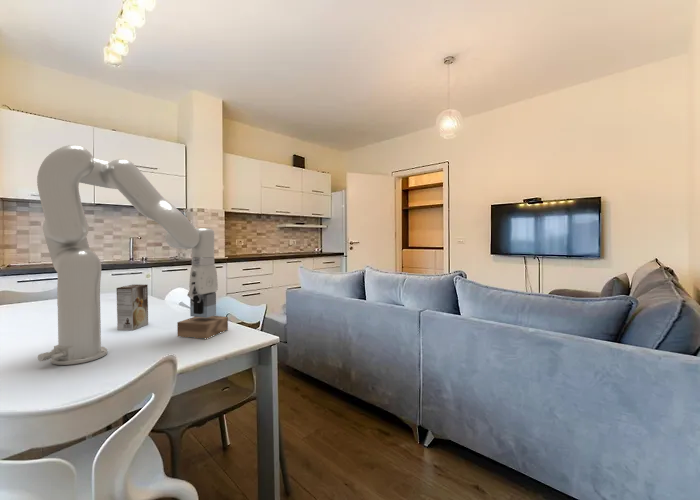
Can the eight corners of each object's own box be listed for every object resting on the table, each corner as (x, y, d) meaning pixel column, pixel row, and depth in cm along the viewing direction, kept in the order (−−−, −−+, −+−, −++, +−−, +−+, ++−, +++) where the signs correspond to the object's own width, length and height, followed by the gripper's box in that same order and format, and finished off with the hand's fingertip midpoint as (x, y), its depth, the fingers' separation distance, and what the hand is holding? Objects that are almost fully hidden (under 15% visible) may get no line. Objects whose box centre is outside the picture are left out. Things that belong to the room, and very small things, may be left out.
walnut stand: (206, 339, 115) (206, 324, 115) (177, 336, 118) (177, 322, 118) (227, 330, 126) (227, 317, 126) (200, 327, 129) (200, 314, 129)
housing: (207, 317, 118) (206, 295, 118) (190, 316, 120) (190, 294, 120) (216, 314, 123) (216, 293, 123) (199, 313, 125) (199, 292, 125)
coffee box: (133, 324, 134) (132, 284, 133) (148, 324, 133) (148, 284, 133) (116, 330, 124) (115, 287, 124) (133, 330, 124) (132, 287, 124)
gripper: (195, 264, 112) (195, 318, 113) (226, 261, 128) (226, 308, 129) (176, 263, 114) (177, 316, 114) (209, 260, 130) (209, 306, 131)
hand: (203, 311), depth 122 cm, fingers closed on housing, 5 cm apart
